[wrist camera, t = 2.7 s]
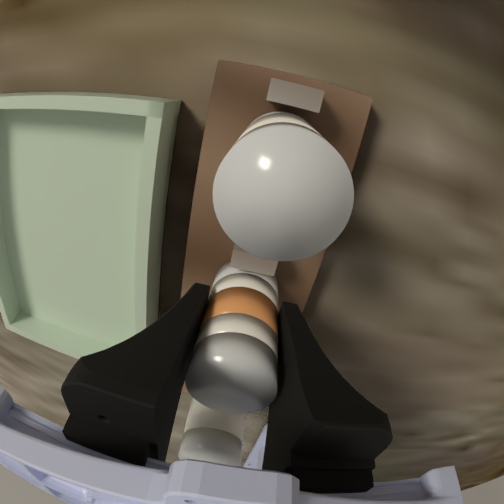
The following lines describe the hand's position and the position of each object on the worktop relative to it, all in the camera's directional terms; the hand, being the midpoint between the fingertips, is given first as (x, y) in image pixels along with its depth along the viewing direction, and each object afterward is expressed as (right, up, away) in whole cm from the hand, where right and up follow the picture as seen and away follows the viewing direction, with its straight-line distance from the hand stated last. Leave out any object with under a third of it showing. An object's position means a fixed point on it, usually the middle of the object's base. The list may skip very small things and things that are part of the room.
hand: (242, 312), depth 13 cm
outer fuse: (+1, +6, -1) cm, 7 cm away
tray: (-10, +4, +2) cm, 10 cm away
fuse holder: (0, +1, +2) cm, 3 cm away
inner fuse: (-1, -5, +5) cm, 7 cm away
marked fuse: (0, +1, +2) cm, 2 cm away
